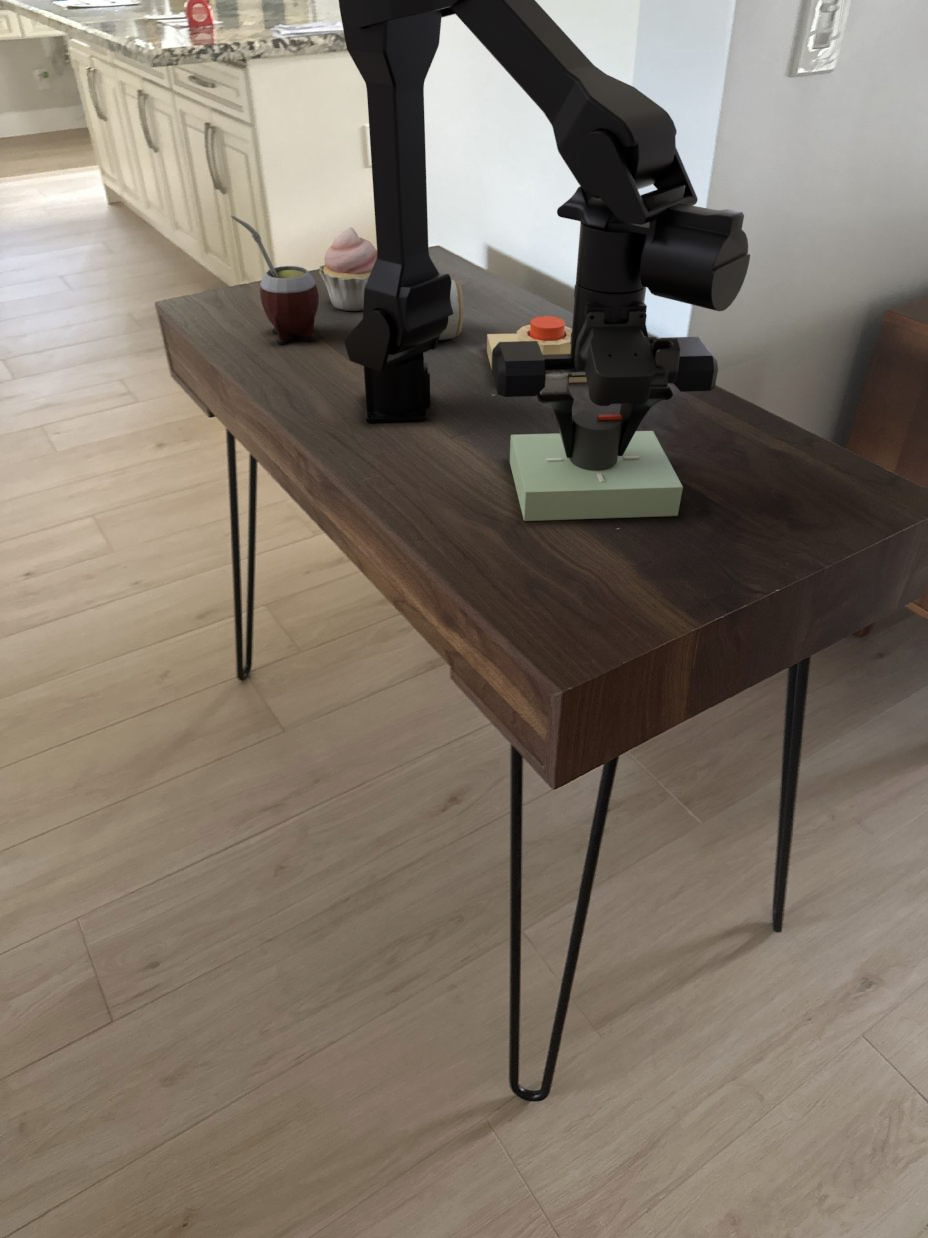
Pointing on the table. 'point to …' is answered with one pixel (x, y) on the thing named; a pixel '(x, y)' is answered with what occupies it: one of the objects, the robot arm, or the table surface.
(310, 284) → the mate gourd
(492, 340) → the beige button base
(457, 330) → the ceramic mug
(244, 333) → the table surface
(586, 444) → the timer knob
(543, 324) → the power button
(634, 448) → the panel
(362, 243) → the cupcake
